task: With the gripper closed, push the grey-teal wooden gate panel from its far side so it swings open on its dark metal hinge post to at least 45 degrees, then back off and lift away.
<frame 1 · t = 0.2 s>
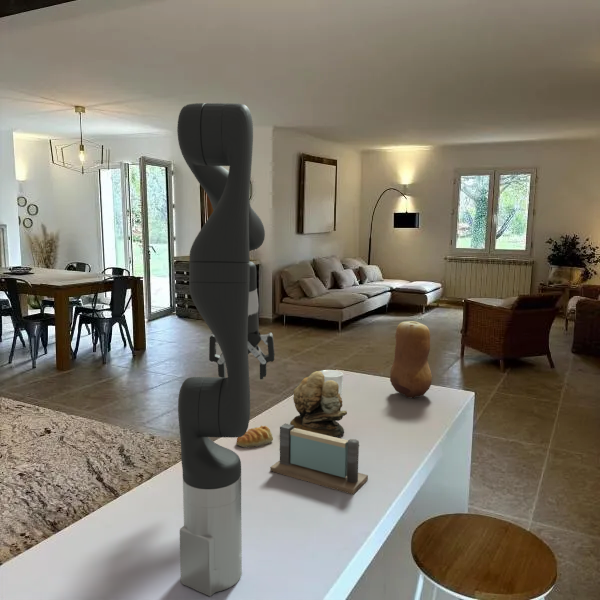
hand: (242, 378, 122), 23 cm above the kitchen island, tool pointing down, fingers open, 8 cm apart
pastry: (255, 443, 143), on the kitchen island
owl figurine: (318, 430, 152), on the kitchen island
gate frame: (318, 475, 125), on the kitchen island
white cup: (330, 404, 173), on the kitchen island
gate panel: (318, 452, 124), point 5 cm above the kitchen island, hinge at 0.0°
butternut squash: (409, 396, 182), on the kitchen island
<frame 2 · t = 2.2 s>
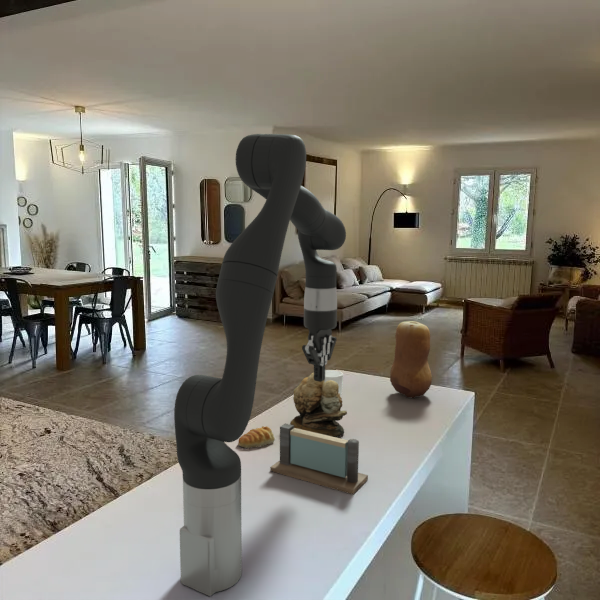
hand: (319, 380, 127), 21 cm above the kitchen island, tool pointing down, fingers closed
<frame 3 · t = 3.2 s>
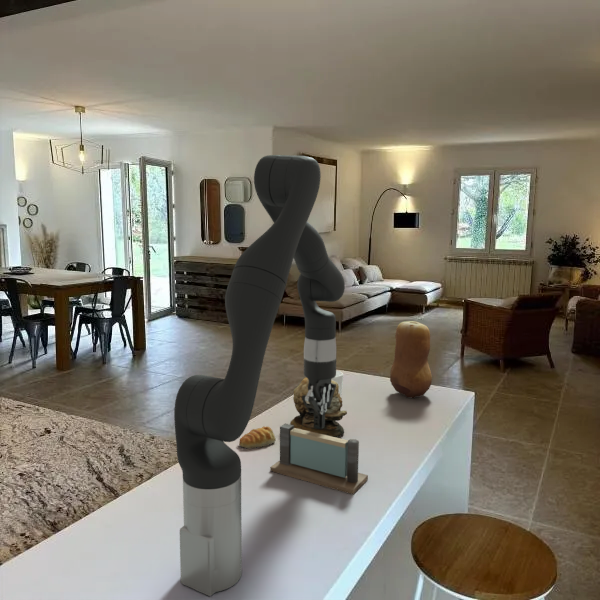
hand: (319, 427, 129), 9 cm above the kitchen island, tool pointing down, fingers closed
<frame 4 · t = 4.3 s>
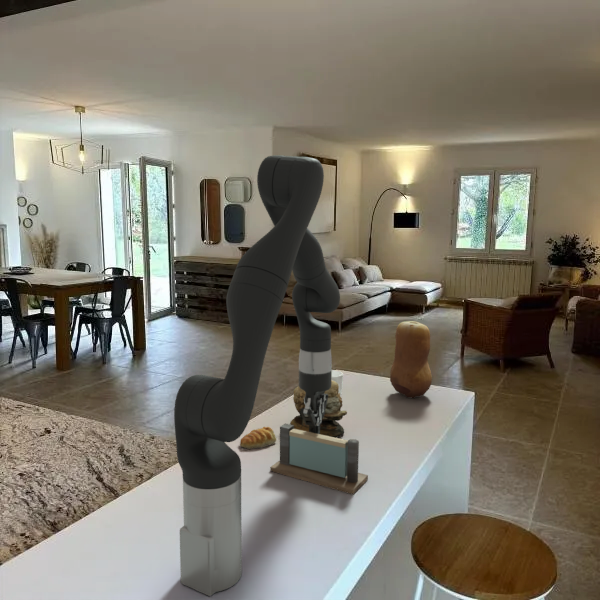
hand: (314, 439, 128), 7 cm above the kitchen island, tool pointing down, fingers closed
gate panel: (318, 452, 124), point 6 cm above the kitchen island, hinge at 1.8°, touching gripper
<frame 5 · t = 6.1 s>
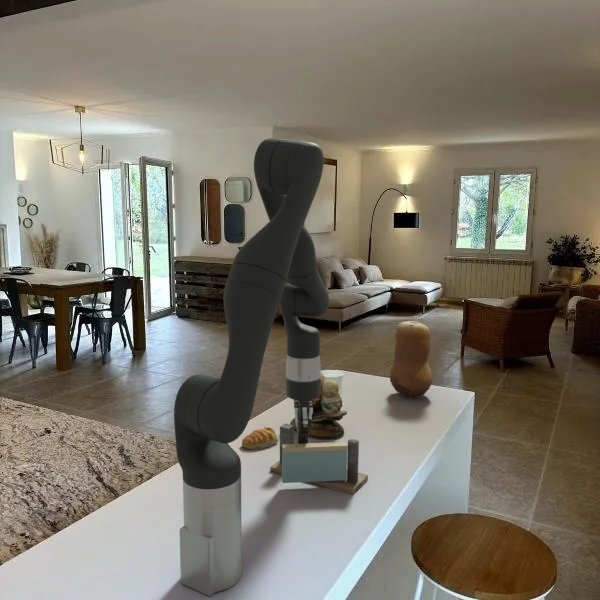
hand: (302, 449, 121), 7 cm above the kitchen island, tool pointing down, fingers closed
gate panel: (314, 462, 119), point 6 cm above the kitchen island, hinge at 37.2°, touching gripper
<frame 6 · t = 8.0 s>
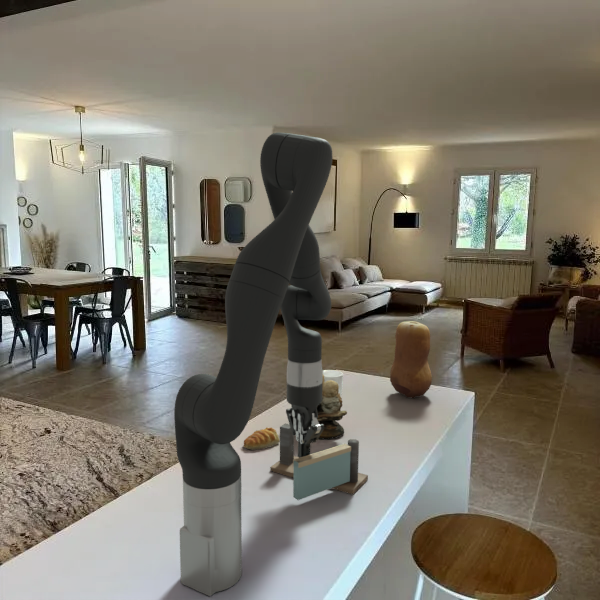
hand: (303, 458, 117), 7 cm above the kitchen island, tool pointing down, fingers closed
gate panel: (322, 471, 115), point 5 cm above the kitchen island, hinge at 66.7°
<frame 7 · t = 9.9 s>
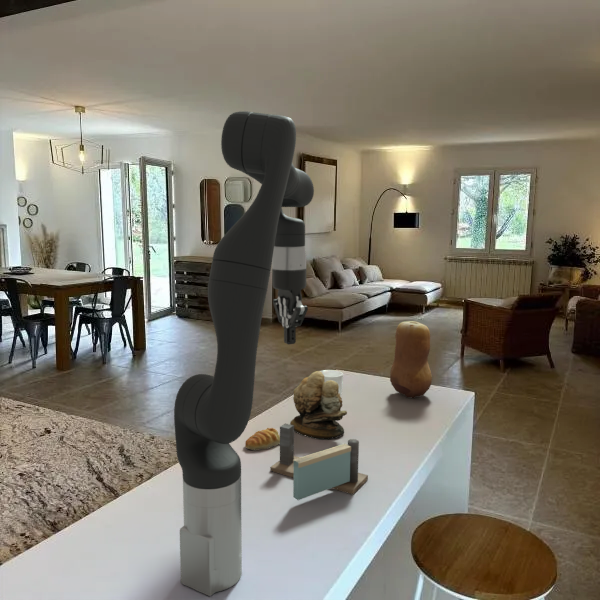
hand: (289, 343, 123), 30 cm above the kitchen island, tool pointing down, fingers closed
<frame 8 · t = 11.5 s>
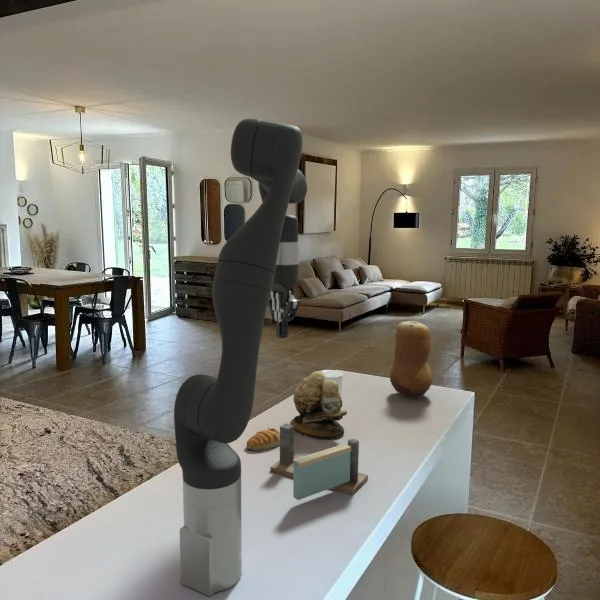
hand: (281, 337, 125), 31 cm above the kitchen island, tool pointing down, fingers closed
at the end: gate panel at +67° (first picture: +0°); pastry moved 3.1 cm from its start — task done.
